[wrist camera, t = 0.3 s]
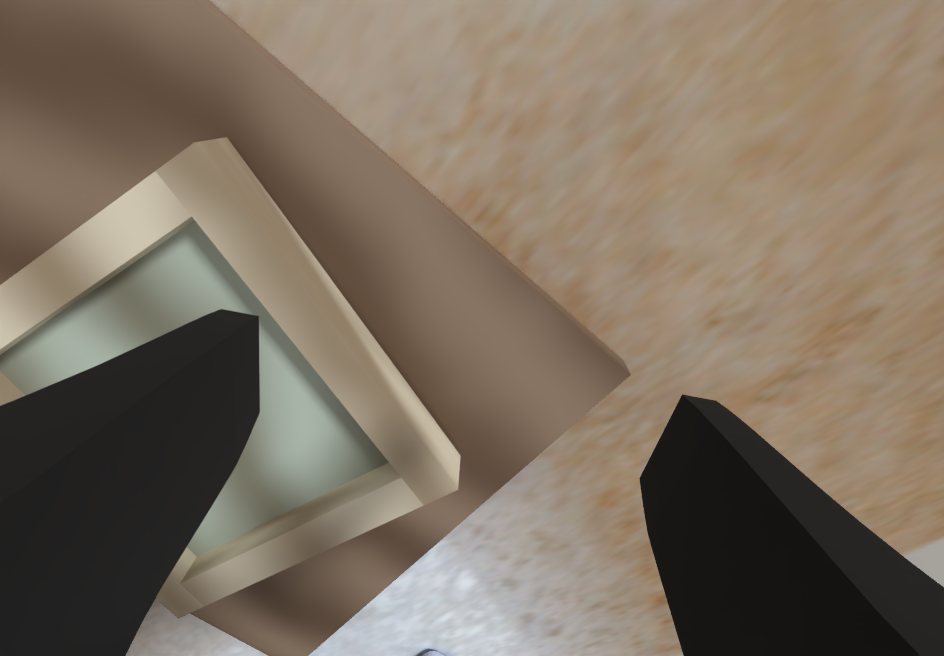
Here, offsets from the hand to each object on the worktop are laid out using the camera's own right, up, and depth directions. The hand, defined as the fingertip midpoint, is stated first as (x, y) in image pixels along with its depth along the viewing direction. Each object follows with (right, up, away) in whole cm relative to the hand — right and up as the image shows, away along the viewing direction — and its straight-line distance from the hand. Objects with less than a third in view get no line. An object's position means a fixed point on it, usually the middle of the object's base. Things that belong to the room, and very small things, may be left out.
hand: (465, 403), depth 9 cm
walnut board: (-11, -1, +12) cm, 16 cm away
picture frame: (-10, -2, +11) cm, 16 cm away
